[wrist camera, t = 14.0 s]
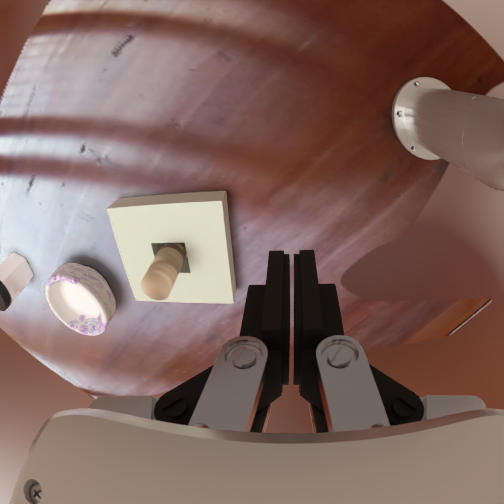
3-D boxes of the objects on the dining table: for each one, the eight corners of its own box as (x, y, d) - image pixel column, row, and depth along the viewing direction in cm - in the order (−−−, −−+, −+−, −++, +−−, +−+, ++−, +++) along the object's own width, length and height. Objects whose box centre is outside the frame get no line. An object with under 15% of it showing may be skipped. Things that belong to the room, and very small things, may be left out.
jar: (28, 286, 57) (3, 317, 47) (8, 264, 54) (-19, 292, 43) (37, 270, 53) (8, 302, 43) (15, 246, 50) (-15, 275, 40)
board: (226, 190, 42) (221, 200, 38) (236, 288, 51) (233, 303, 48) (118, 198, 43) (106, 208, 40) (143, 286, 53) (135, 300, 49)
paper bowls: (85, 240, 48) (63, 264, 41) (135, 297, 55) (121, 325, 48) (52, 271, 53) (34, 293, 46) (97, 318, 60) (82, 343, 53)
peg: (189, 230, 46) (166, 275, 35) (193, 253, 48) (173, 301, 38) (164, 231, 46) (136, 274, 36) (169, 253, 48) (144, 299, 38)
